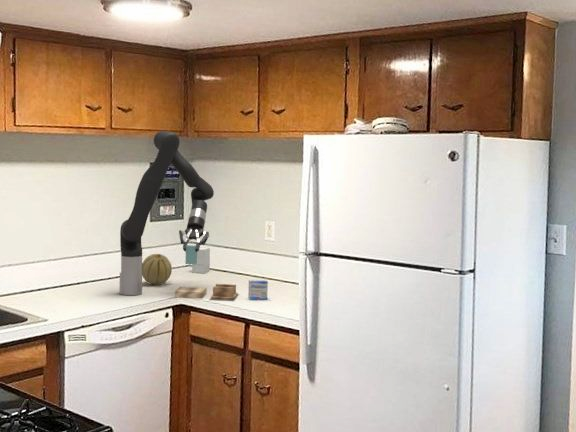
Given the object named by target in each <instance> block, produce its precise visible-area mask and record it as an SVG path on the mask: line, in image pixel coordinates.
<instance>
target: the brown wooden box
mask: <svg viewBox="0 0 576 432" xmlns="http://www.w3.org/2000/svg"><path fill="white" fill-rule="evenodd" d="M238 294H239V293H238V292H237V284H232V283H231V284H229V283H227V284H226V283H215V286H212V295H211V296H210V298H211V299H216V300H234V299H235V298H236V296H237V295H238ZM238 296H239V295H238ZM236 299H237V298H236ZM236 299H235V300H236Z"/></svg>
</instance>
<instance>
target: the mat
mask: <svg viewBox="0 0 576 432" xmlns="http://www.w3.org/2000/svg"><path fill="white" fill-rule="evenodd" d="M239 295H240V293H238V295H237V296H236V298H235V299H234V300H216V299H211V297H210V298H209V300H208V301H214V302H235V301H236V299H237V298H238V296H239Z"/></svg>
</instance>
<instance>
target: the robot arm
mask: <svg viewBox="0 0 576 432" xmlns="http://www.w3.org/2000/svg"><path fill="white" fill-rule="evenodd" d="M153 144H154V146H155V147H156V149H157V150H158V152H157V155H156V157H155V159H154V160H153V162H152V163H151V165H150V166H149V167H148V168H147V169H146V170H145V172H144V173H143V175H142V177H141V179H140V182H139V184H138V187H137V190H136V194H135V199H134V205H133V207H132V211H131V213H130V215H129V217H128V219H126V220H125V221H123V222H122V224H121V225H120V235H119V237H120V239H119V241H120V244H119V245H120V257H121V258H120V265H121V266H120V272H119V295H123V296H138V295H142V294H143V276H142V263H143V248H142V247H143V246H142V237H143V235H144V231H145V229H146V228H145V227H146V224H147V220H148V219H149V218H148V217H149V216H150V213H151V211H152V209H153V206H154V204H155V202H156V201H157V197H158V195H159V193H160V190H161V188H162V185H163V182H164V180H165V177H166V175H167V173H168V170H169V167H170V166H171V165H172V166H173V167H174V168H175V170H176V171H177V172H178V174H179V175H180V177H181V178H182V180H183V181H184V183H185V184H186V185H187V187H189V188H193V189H192V190H191V191H190V192H191V193H190V198H191V208H190V213H189V215H188V219H187V224H186V225H187V226H186V229H184V230H178V235H179V240H180V241H179V242H180V243H181V245H182V250H183V251H184V253H186V246H187V245H189V243H190V241H191V240H196V241H197V242H195V243H196V244H195V245H196V248H195V251H196V252H198V251H199V248H201V245H202V246H204V245H205V244H206V243H207V241H208V238H209V237H210V233H209V231H204V229H205V223H206V218H207V210H208V203H207V202H206V201H208V200H211V199H213V197H214V193H215V192H214V188H213V187H212V185H211V184H209V183H208V182H207V181H206V180H205V179H203V178H202V177H201V176H200V175H199V173H198V171H197V170H196V169H195V168H194V166H193V164H192V163H190V162H189V161H188V160H187V159H186V158H185V157H184V156H183V155H182V154H181V152H180V151H179V147H180V144H181V143H180V137H179V135H178V134H176V133H175V132H172V131H171V132H170V131H167V130H160V131H159V130H158V132H157V133H155V135H154V137H153ZM184 236H185V238H184ZM201 237H202V238H201ZM200 238H201V239H200Z"/></svg>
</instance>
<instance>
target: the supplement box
mask: <svg viewBox="0 0 576 432" xmlns="http://www.w3.org/2000/svg"><path fill="white" fill-rule="evenodd" d="M210 252H211V251H210V247H200V248H199V251H198V252H197V264H191V267H192V268H191V270H192V271H191V272H192V274H193V273H194V274H195V273H196V274H206V273H209V272H210V271H211V270H210V269H211V268H210V267H211V266H210V265H211V264H210V263H211V262H210V261H211V259H210V257H211V256H210Z"/></svg>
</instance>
